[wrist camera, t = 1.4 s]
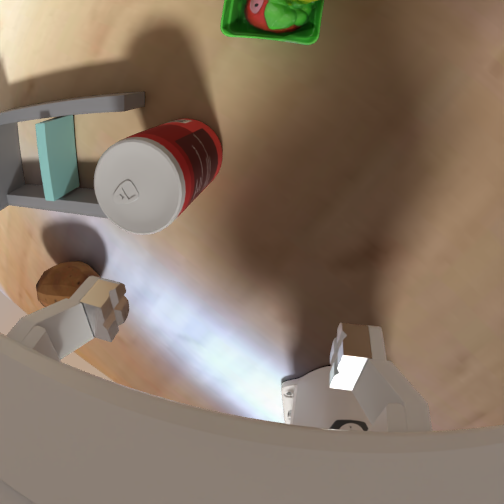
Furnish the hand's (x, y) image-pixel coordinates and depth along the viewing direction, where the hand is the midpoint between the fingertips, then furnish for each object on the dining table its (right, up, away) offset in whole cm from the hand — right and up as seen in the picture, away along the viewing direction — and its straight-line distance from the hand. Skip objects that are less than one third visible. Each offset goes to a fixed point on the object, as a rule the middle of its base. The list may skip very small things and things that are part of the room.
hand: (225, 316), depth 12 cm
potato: (-23, -1, +32) cm, 40 cm away
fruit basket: (+4, +26, +10) cm, 28 cm away
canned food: (-6, +12, +20) cm, 24 cm away
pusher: (-21, +15, +22) cm, 34 cm away
